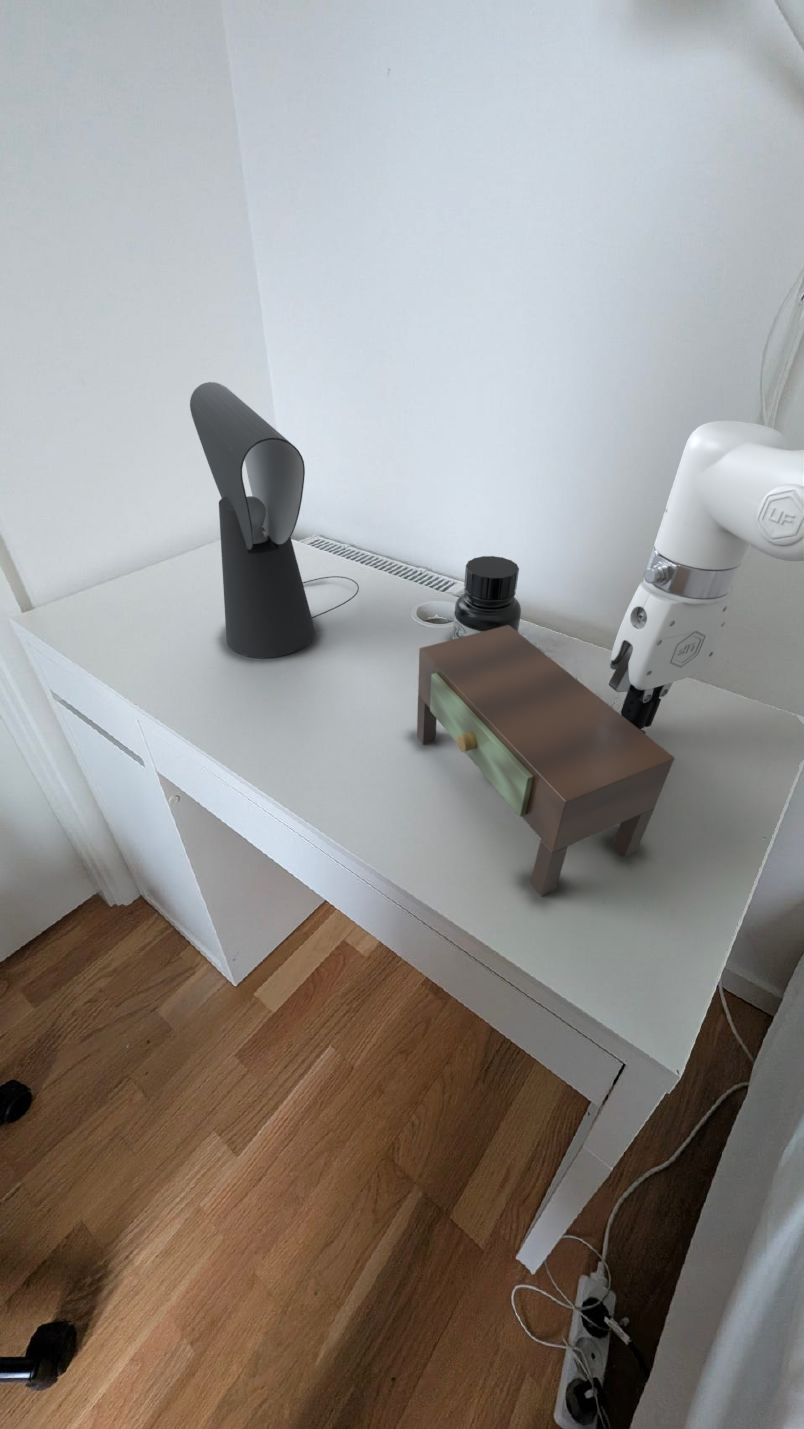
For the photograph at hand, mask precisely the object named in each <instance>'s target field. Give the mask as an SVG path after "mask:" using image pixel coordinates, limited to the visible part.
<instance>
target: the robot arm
mask: <svg viewBox="0 0 804 1429" xmlns="http://www.w3.org/2000/svg"><path fill="white" fill-rule="evenodd" d="M749 546H751V547H752V548H754V549H756V550H758V551H759V552H761V553H763V554H764V555H767V556H769V557H771V558H775V559H778V560H782V561H787V562H804V449H798V450H797V449H796V450H789V444H788V440H787V438H786V437H785V435H784V434H783V433H781V432H780V431H778V430H777V429H775V428H772V427H769V426H766V425H763V424H759V423H754V422H748V421H738V420H716V421H710V422H706V423H703V424H701V425H699V426H698V427H697V428H695V430H693V431H692V432H691V433H690V435H689V437H688V439H687V440H686V444H685V446H684V449H683V451H682V455H681V458H680V461H679V464H678V467H677V470H676V473H675V476H674V480H673V484H672V486H671V489H670V493H669V496H668V499H667V502H666V506H665V509H664V512H663V515H662V518H661V522H660V525H659V528H658V531H657V534H656V538H655V541H654V543H653V547H652V550H651V553H650V556H649V559H648V562H647V566H646V569H645V571H644V572H643V580H642V581H641V582H640V583H639V585H638V586H637V589H636V591H635V593H634V594H633V597H632V598H631V601H630V602H629V605H628V607H627V610H626V611H625V614H624V616H623V618H622V622H621V624H620V627H619V630H618V632H617V634H616V637H615V641H614V644H613V646H612V650H611V654H610V658H609V668H610V669H611V670H614V672H613V674H612V675H611V678H610V680H609V682H608V686H609V687H610V688H612V689H613V690H614V691H615V692H617V693H626V695H625V698H624V701H623V703H622V707H621V710H620V715H622V716H623V717H624V718H625V719H627V720H628V721H629V722H630V723H632V724H633V725H634V726H635V727H637V728H639V729H641V730H644V729H645V728H648V727H651V726H652V724H653V721H654V719H655V716H656V714H657V712H658V709H659V706H660V705H661V701H662V698H664V697H666V695H668V693H669V691H670V689H671V687H672V686H673V683H675V682H678V681H680V680H684V679H687V678H690V677H693V676H696V675H699V674H700V673H702V672H703V671H705V670H706V669H707V668H708V667H709V664H710V663H711V661H712V658H713V656H714V654H715V651H716V649H717V646H718V644H719V640H720V639H721V635H722V633H723V629H724V627H725V624H726V621H727V618H728V613H729V610H730V606H731V602H732V597H733V589H734V586H733V584H734V581H735V579H736V577H737V575H738V572H739V569H740V567H741V565H742V563H743V560H744V558H745V555H746V553H747V551H748V549H749Z"/></svg>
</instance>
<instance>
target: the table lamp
mask: <svg viewBox="0 0 804 1429" xmlns="http://www.w3.org/2000/svg"><path fill="white" fill-rule="evenodd" d="M189 408H190V414H191V418H192V420H193V424H194V426H195V429H196V433H197V435H198V438H199V441H200V444H201V447H202V450H203V453H204V456H205V458H206V461H207V463H208V467H209V470H210V472H211V475H212V478H213V480H214V482H215V485H216V488H217V491H218V493H219V495H220V497H221V498H220V499H219V501H218V514H219V516H218V517H219V531H220V532H219V533H220V549H221V550H220V552H221V570H222V586H223V587H222V588H223V603H224V620H225V621H224V622H225V623H224V624H225V638H226V644H227V646H228V647H229V648H230V649H231V650H232V651H234V652H235V653H237V654H239V655H242V656H244V657H245V656H246V657H250V658H255V659H257V658H258V659H269V658H279V657H283V656H286V655H290V654H294V653H295V652H296V653H297V652H298V651H299V650H302V649H303V648H305V647H306V646H308V645H309V644H310V643H311V642H312V641H313V639H314V637H315V635H316V629H315V628H316V627H315V624H314V622H313V619H314V618H317V617H319V616H321V615H324V614H326V613H328V612H330V611H333V610H335V609H337V608H340V607H341V606H343V605H345V604H346V603H348V602H349V601H351V600H352V599H353V598H354V597H356V596H357V594H358V593H359V589H360V586H359V584H358V583H357V582H356V581H355V580H354V579H353V578H349V577H347V576H338V575H337V576H336V575H334V576H333V575H332V576H323V577H318V578H314V579H309V580H307V581H303V579H302V575H301V571H300V568H299V564H298V559H297V556H296V552H295V549H294V544H293V541H292V535H293V533H294V531H295V529H296V525H297V522H298V519H299V516H300V512H301V511H300V510H301V506H302V502H303V501H302V500H303V493H304V486H305V477H306V468H305V467H306V466H305V460H304V458H303V456H302V454H301V452H300V451H299V449H298V448H297V447H296V446H295V445H294V444H293V443H291V442H290V441H289V440H288V439H287V438H286V437H285V436H284V435H282V434H281V433H280V432H279V431H277V429H275V428H274V427H273V426H272V425H270V423H268V422H267V421H266V420H265V419H264V418H263V417H262V416H260V414H258V413H257V412H256V411H255V410H253V408H251V407H250V406H249V405H247V404H246V403H245V402H244V401H243V400H242V399H241V398H240V397H238V396H237V395H236V394H235V393H234V392H232V391H231V390H230V389H229V387H227V386H225V385H223V384H221V383H220V382H219V383H218V382H215V381H208V382H204V383H202V384H199V385H198V386H197V387H196V388H194V390H193V392H192V394H191V396H190V400H189ZM244 464H245V468H246V474H247V478H248V484H249V487H250V491H251V496H250V495H248V496H247V492H246V489H245V483H244V478H243V466H244ZM329 578H340V579H341V578H342V579H346V580H350V581H352V582H353V583H355V585H356V587H357V590H356V592H355V593H354V595H353V596H352V597H350V598H349V599H347V600H345V601H344V602H342V603H341V604H339V605H337V606H334V607H332V608H330V609H328V610H325V611H324V612H320V613H319V614H316V615H313V616H312V614H311V610H310V606H309V602H308V598H307V594H306V590H305V587H304V584H306V583H310V582H313V581H317V580H318V581H319V580H322V579H329Z"/></svg>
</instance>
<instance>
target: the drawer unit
mask: <svg viewBox="0 0 804 1429" xmlns="http://www.w3.org/2000/svg"><path fill="white" fill-rule="evenodd" d="M418 652H419V653H418V654H419V655H418V683H417V684H418V686H417V688H418V689H417V692H418V693H417V719H416V720H417V721H416V737H417V738H418V740H419V741H420V742H421V744H422V745H426V744H429V743H432V742H435V741H436V735H437V734H436V733H437V721H438V722H439V724H440V725H441V726H442V727H443V728H444V729H445V731H446V732H447V733H448V734H449V735H450V737H451V738H452V739H453V740H454V741H455V742H456V745H457V747H458V749H459V750H460V752H462V753H465V754H466V755H467V756H468V758H469V759H470V760H471V762H473V764H474V765H475V766H476V767H477V769H479V771H480V772H481V773H482V774H483V776H485V777H486V779H487V780H488V781H489V782H490V784H491V785H492V786H493V787H494V789H495V790H496V791H497V792H498V793H499V794H500V796H502V798H503V799H504V800H505V802H506V803H507V804H508V805H509V806H510V807H511V809H513V811H514V812H515V813H516V814H517V815H518V816H519V818H521V817H522V818H523V820H524V821H525V822H526V824H528V825H529V827H530V828H531V829H532V831H533V832H534V833H535V834H536V835H537V836H538V838H540V840H539V841H540V842H539V845H538V849H537V854H536V857H535V861H534V865H533V869H532V874H531V879H530V881H529V882H530V884H531V886H532V887H533V888H534V889H535V891H536V892H537V893H538V894H539V896H540V897H543V896H545V895H547V894H549V893H552V892H553V891H556V889H557V886H558V882H559V880H560V876H561V872H562V869H563V865H564V863H565V859H566V855H567V853H568V852H567V851H568V848H569V846H571V845H574V844H577V843H578V842H581V841H583V840H585V839H587V838H589V837H592V836H595V835H597V834H598V833H602V832H603V831H605V830H607V829H610V828H612V827H615V826H617V825H618V829H617V831H616V834H615V837H614V839H613V842H612V847H613V848H614V849H615V850H616V851H617V853H619V854H620V856H621V857H623V858H626V857H629V856H630V855H633V854H635V853H636V852H638V849H639V847H640V844H641V842H642V840H643V838H644V837H643V836H644V834H645V832H646V829H647V827H648V826H649V823H650V820H651V818H652V815H653V812H654V809H655V807H656V805H657V803H658V800H659V798H660V795H661V794H662V791H663V787H664V786H665V783H666V780H667V778H668V776H669V773H670V771H671V768H672V766H673V764H674V762H675V757H674V756H673V755H672V754H670V753H669V752H668V751H667V750H666V749H664V748H663V747H662V746H660V745H659V744H658V743H657V742H656V741H654V740H653V739H652V738H651V737H649V735H647V734H644V733H643V732H642V731H640V730H639V729H638V728H637V727H635V726H634V725H633V724H632V723H630V722H629V721H628V720H627V719H625V718H624V717H623V716H622V715H621V713H619V712H618V711H617V710H615V709H614V708H613V707H612V706H610V705H609V704H608V703H607V702H605V700H603V699H602V698H600V697H599V696H598V695H597V694H596V693H594V692H593V690H590V689H589V688H588V687H587V686H586V685H585V684H583V683H582V682H580V680H578V679H577V678H575V677H574V676H573V675H572V674H570V673H569V672H568V671H567V670H565V669H564V668H563V667H562V666H561V665H560V664H558V663H557V662H555V660H553V659H552V658H551V657H549V656H548V655H547V654H545V653H544V652H543V651H542V650H540V649H539V648H538V647H537V646H536V645H535V644H533V643H532V642H531V641H529V640H528V639H527V638H526V637H525V636H524V635H522V634H521V633H520V632H519V631H518V632H517V631H516V630H514V629H513V628H512V627H511V626H509V625H506V626H502V627H499V628H495V629H491V630H487V631H483V632H479V633H476V634H472V635H468V636H464V637H460V638H457V639H453V638H452V639H450V640H445V641H441V642H438V643H434V644H430V645H427V646H423V647H419V651H418Z"/></svg>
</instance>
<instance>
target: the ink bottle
mask: <svg viewBox="0 0 804 1429" xmlns="http://www.w3.org/2000/svg"><path fill="white" fill-rule="evenodd" d="M519 572H520V568H519V566H518V564H517V563H516V562H514V561H513V560H512V559H508V558H505V557H501V556H495V555H482V556H479V557H473V558H472V559H470V560H468V561H467V563H466V565H465V573H464V584H463V585H464V592H463V593H462V594H460V596H459V597H458V598H457V600H456V601H455V606H454V612H453V613H454V614H453V616H454V617H453V630H452V640H453V639H457V638H460V637H464V636H468V635H472V634H476V633H479V632H483V631H487V630H491V629H495V628H499V627H502V626H506V625H509V626H511V627H512V628H513V629H514V630H516V631H517V632H518V633H519V629H520V622H521V616H522V606H521V604H520V602H519V600H518V599H517V598H516V597H515V596H516V593H517V592H516V590H517V587H518V579H519Z"/></svg>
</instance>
